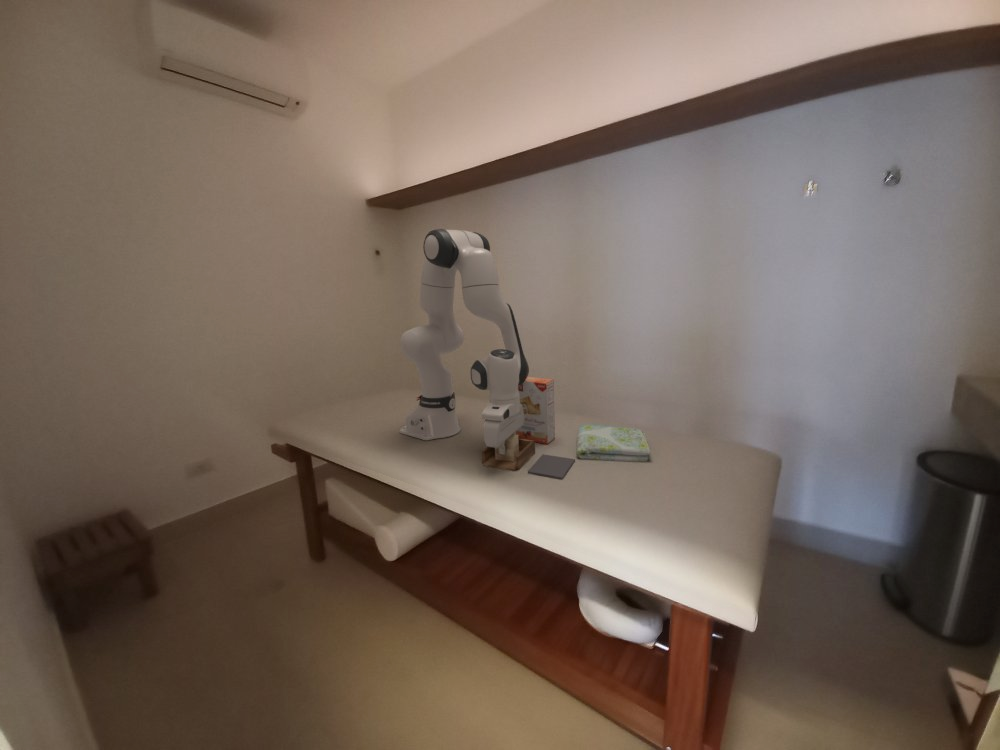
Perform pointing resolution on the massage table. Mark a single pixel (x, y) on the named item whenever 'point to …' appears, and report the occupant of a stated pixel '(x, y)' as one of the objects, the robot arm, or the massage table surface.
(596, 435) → the towel
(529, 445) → the shelf bay
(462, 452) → the massage table surface
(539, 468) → the mat
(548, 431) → the cracker box
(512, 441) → the block
